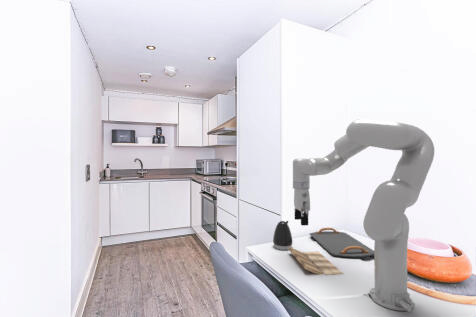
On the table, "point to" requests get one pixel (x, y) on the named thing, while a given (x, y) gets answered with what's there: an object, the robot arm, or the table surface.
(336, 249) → the serving board
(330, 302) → the table surface
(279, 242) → the pump dispenser
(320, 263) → the laid boards
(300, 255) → the plank
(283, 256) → the table surface
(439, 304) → the table surface
